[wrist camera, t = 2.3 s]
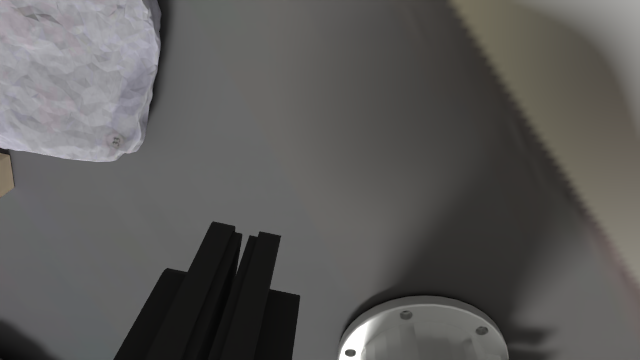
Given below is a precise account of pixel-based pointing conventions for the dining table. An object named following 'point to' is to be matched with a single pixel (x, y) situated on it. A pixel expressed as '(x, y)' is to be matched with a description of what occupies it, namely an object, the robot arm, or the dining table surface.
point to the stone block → (77, 76)
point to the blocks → (5, 174)
